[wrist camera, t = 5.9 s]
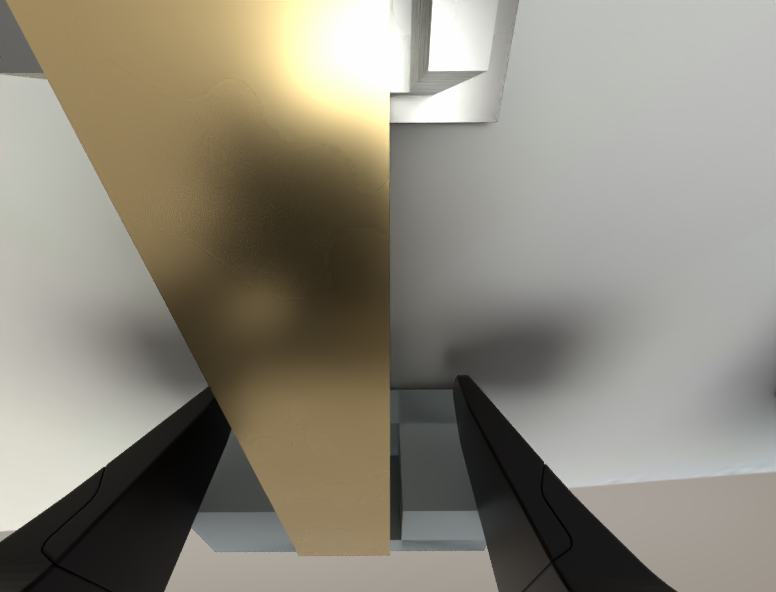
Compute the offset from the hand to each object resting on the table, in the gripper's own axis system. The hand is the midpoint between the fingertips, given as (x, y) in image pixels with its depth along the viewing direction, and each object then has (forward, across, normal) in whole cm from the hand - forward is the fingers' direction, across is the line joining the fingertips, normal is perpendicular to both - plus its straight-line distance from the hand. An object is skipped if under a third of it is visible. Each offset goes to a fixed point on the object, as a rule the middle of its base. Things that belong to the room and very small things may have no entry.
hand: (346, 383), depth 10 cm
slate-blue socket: (+2, 0, +4) cm, 4 cm away
